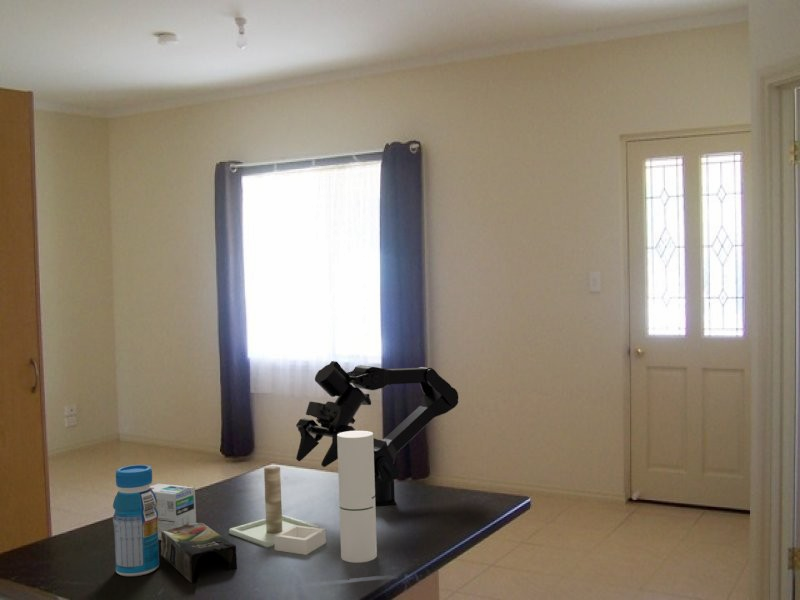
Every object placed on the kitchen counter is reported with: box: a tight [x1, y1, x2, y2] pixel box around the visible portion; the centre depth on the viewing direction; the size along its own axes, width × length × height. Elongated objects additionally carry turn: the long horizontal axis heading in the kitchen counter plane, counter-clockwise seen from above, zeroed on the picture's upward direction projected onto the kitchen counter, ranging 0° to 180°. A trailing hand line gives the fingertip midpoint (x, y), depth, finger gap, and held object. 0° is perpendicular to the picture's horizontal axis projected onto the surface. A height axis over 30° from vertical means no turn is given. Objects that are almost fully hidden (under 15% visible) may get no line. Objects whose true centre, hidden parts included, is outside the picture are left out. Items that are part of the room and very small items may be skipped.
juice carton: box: [160, 522, 238, 584], centre depth 157 cm, size 20×10×6 cm, turn 34°
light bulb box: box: [149, 483, 197, 541], centre depth 175 cm, size 11×7×11 cm, turn 65°
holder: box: [274, 525, 327, 556], centre depth 164 cm, size 8×8×4 cm
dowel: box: [263, 465, 283, 534], centre depth 173 cm, size 4×4×14 cm
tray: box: [228, 514, 320, 548], centre depth 173 cm, size 14×14×2 cm
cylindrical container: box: [337, 430, 378, 563], centre depth 156 cm, size 7×7×25 cm
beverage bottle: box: [112, 464, 160, 577], centre depth 154 cm, size 8×8×20 cm
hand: (309, 463), depth 182 cm, fingers open, 9 cm apart
